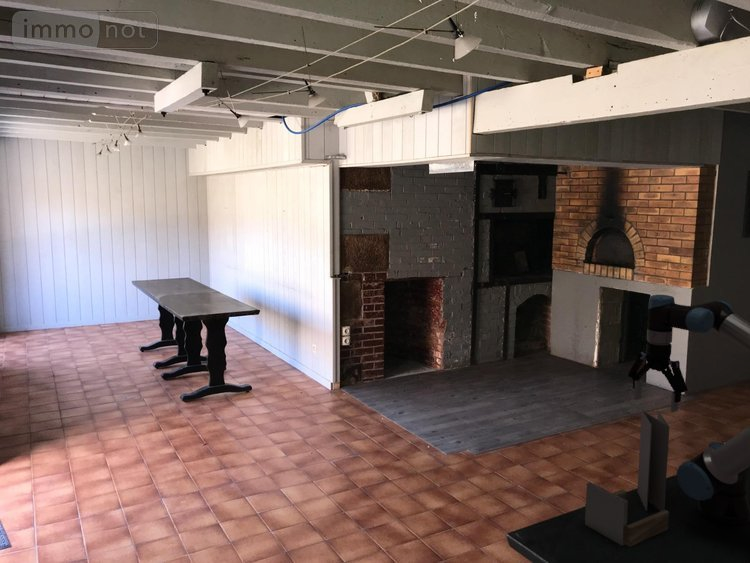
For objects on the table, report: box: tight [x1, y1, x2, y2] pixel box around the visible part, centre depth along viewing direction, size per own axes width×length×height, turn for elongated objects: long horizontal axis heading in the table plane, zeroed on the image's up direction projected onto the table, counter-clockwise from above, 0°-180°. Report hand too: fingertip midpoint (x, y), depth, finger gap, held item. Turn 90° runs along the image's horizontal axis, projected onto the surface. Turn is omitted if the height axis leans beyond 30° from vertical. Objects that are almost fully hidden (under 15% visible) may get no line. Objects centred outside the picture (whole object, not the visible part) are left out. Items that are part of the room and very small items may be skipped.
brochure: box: [636, 409, 670, 512], centre depth 208 cm, size 14×6×30 cm, turn 168°
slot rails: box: [584, 488, 670, 548], centre depth 196 cm, size 17×18×6 cm
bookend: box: [584, 481, 629, 547], centre depth 191 cm, size 14×2×14 cm, turn 30°
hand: (655, 405), depth 205 cm, fingers open, 13 cm apart
